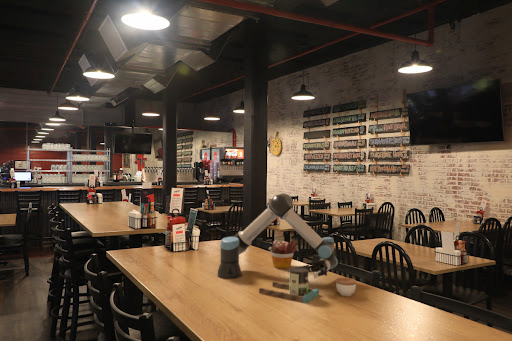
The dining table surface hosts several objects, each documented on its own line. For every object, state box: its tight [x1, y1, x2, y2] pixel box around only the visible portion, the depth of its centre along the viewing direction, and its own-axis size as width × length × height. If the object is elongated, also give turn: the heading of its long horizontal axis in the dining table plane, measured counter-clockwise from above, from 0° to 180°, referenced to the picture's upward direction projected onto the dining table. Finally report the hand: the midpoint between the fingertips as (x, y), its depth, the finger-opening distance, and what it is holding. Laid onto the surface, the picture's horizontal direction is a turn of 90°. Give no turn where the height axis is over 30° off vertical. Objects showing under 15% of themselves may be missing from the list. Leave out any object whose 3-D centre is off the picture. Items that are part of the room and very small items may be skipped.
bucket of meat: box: [268, 239, 297, 269], centre depth 272 cm, size 20×16×20 cm
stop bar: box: [301, 288, 320, 304], centre depth 206 cm, size 2×16×3 cm, turn 148°
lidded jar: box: [335, 276, 357, 297], centre depth 214 cm, size 11×11×9 cm
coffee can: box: [288, 266, 310, 296], centre depth 210 cm, size 10×10×14 cm
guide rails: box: [258, 281, 320, 303], centre depth 213 cm, size 28×16×2 cm, turn 58°
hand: (303, 274), depth 219 cm, fingers open, 13 cm apart
